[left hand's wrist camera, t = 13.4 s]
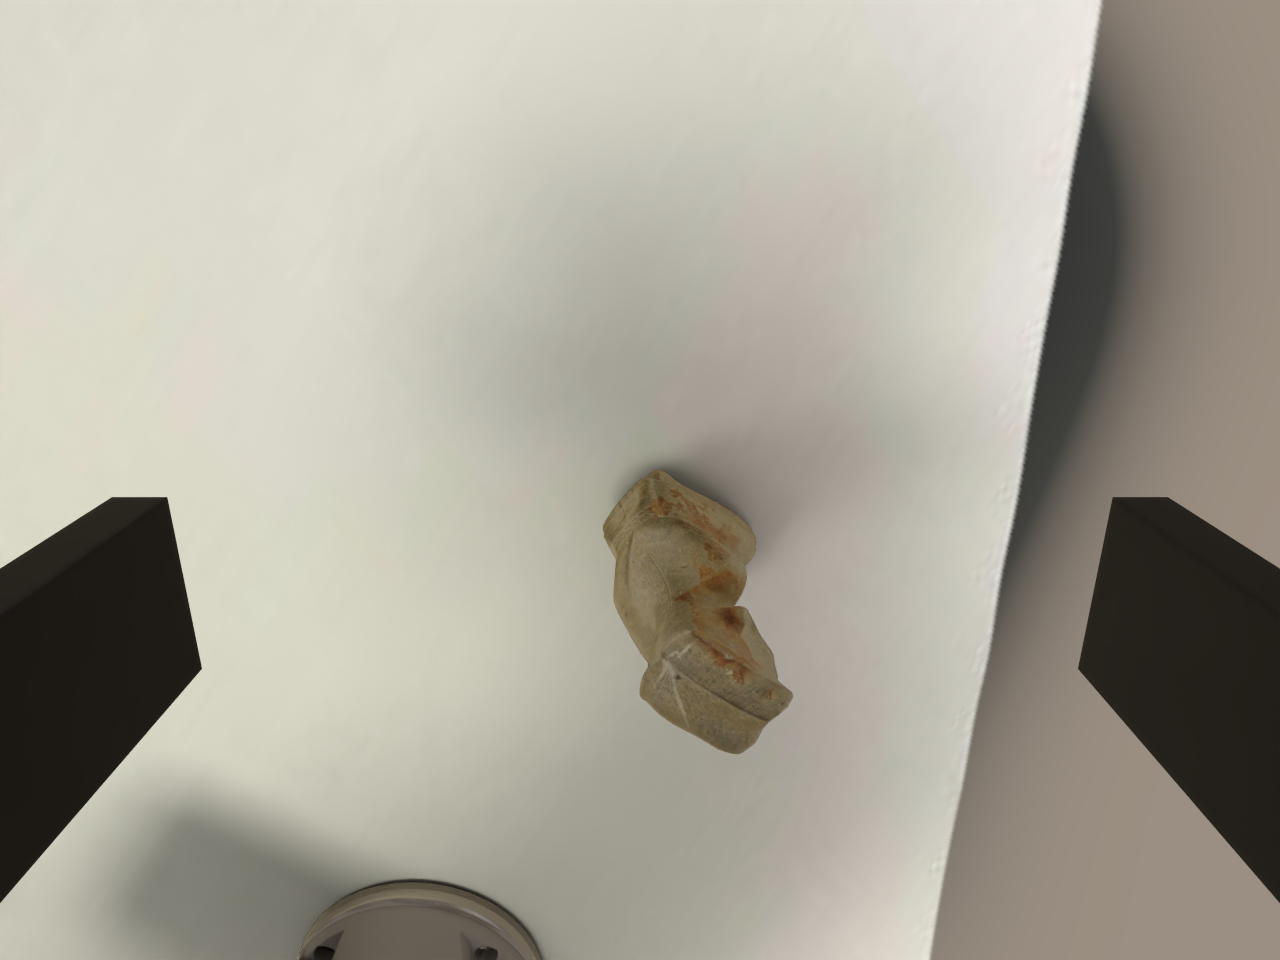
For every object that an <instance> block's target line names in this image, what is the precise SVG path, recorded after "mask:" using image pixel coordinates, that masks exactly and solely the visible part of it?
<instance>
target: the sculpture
mask: <svg viewBox="0 0 1280 960" xmlns="http://www.w3.org/2000/svg"><path fill="white" fill-rule="evenodd" d="M603 531H604V538H605V540H606V542H607V544H608V546H609V548H610V550H611V551H612V553H613V555H614V557H615V558H616V559H617V561H616V569H615V581H614V603H615V606H616V609H617V611H618V613H619V615H620V617H621V619H622V621H623V623H624V625H625V627H626V629H627V630H628V632H629V634H630V636H631V638H632V639H633V641H634V643H635V645H636V646H637V648H638V650H639V651H640V653H641V654H642V656H643V657H644V658H645V659H646V661H647V662H648V668H647V670H646V671H645V673H644V675H643V678H642V680H641V685H640V696H641V698H642V699H644V700H645V701H647V702H648V703H649V704H650V705H651V707H652V708H653V709H654V710H655V711H656V712H658V713H659V714H660V715H661V716H662V717H664V718H665V719H667V720H668V721H670V722H671V723H673V724H674V725H676V726H678V727H680V728H682V729H684V730H686V731H687V732H689V733H691V734H693V735H695V736H697V737H699V738H700V739H702V740H704V741H705V742H707V743H709V744H710V745H712V746H714V747H715V748H717V749H719V750H722V751H725V752H729V753H733V754H740V753H742V752H744V751H745V750H747V749H748V748H749V747H751V746H752V745H753V744H754V743H755V742H756V741H757V739H758V737H759V735H760V733H761V731H762V729H763V728H764V727H765V725H766V724H767V723H768V722H770V721H771V720H772V719H774V718H775V717H776V716H778V715H779V714H780V713H781V712H782V711H783V710H785V709H786V708H787V707H788V705H789V704H790V702H791V700H792V698H793V694H792V693H791V691H789V690H788V689H787V688H786V687H785V686H783V685H782V684H781V683H780V682H779V681H778V675H777V671H776V667H775V664H774V655H773V653H772V651H771V650H770V648H769V647H768V645H767V644H766V642H765V641H764V640H763V638H762V637H761V635H760V634H759V632H758V630H757V628H756V626H755V624H754V622H753V620H752V617H751V615H750V613H749V611H748V610H747V609H746V608H745V607H742V606H734V605H735V604H736V602H737V600H738V599H739V597H740V596H741V594H742V592H743V590H744V587H745V584H746V578H747V575H746V569H745V565H746V564H747V563H748V562H749V561H750V560H751V559H752V557H753V556H754V554H755V550H756V539H755V536H754V534H753V532H752V530H751V529H750V528H749V526H748V525H747V524H746V523H745V522H744V521H743V520H742V519H741V518H740V517H739V516H737V515H736V514H735V513H733V512H732V511H730V510H729V509H727V508H725V507H724V506H722V505H720V504H718V503H717V502H715V501H713V500H711V499H709V498H707V497H705V496H703V495H701V494H699V493H697V492H695V491H693V490H691V489H689V488H687V487H685V486H683V485H682V484H680V483H679V482H677V481H676V480H674V479H673V478H672V477H671V476H670V475H669V474H667V473H665V472H663V471H660V470H654V471H652V472H651V473H650V474H649V475H648V476H646V477H645V478H643V479H641V480H639V481H638V482H637V483H636V484H635V485H634V486H633V487H632V488H631V489H630V490H629V491H628V492H627V493H626V495H625V496H624V497H623V498H622V499H621V500H620V502H619V503H618V504H617V505H616V506H615V508H614V509H613V510H612V512H611V513H610V515H609V516H608V518H607V519H606V521H605V523H604V525H603Z"/></svg>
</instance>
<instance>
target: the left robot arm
mask: <svg viewBox="0 0 1280 960" xmlns="http://www.w3.org/2000/svg"><path fill="white" fill-rule="evenodd" d="M201 669H202V667H201V662H200V657H199V652H198V647H197V642H196V637H195V632H194V627H193V622H192V617H191V612H190V608H189V603H188V598H187V593H186V588H185V583H184V578H183V573H182V568H181V563H180V558H179V553H178V548H177V543H176V538H175V533H174V528H173V523H172V519H171V514H170V509H169V504H168V499H167V497H112V498H110V499H109V500H107V501H105V502H104V503H102V504H101V505H99V506H98V507H96V508H95V509H93V510H91V511H90V512H88V513H87V514H85V515H84V516H82V517H80V518H79V519H77V520H76V521H74V522H73V523H71V524H69V525H68V526H66V527H65V528H63V529H62V530H60V531H59V532H57V533H55V534H54V535H52V536H51V537H49V538H48V539H46V540H44V541H43V542H41V543H40V544H38V545H37V546H35V547H33V548H32V549H30V550H29V551H27V552H26V553H24V554H22V555H21V556H19V557H18V558H16V559H15V560H13V561H12V562H10V563H8V564H7V565H5V566H4V567H2V568H1V569H0V903H1V901H2V900H3V899H4V898H5V897H6V896H7V894H8V893H9V892H10V891H11V890H12V889H13V887H14V886H15V885H16V884H17V883H18V882H19V880H20V879H21V878H22V877H23V876H24V875H25V874H26V872H27V871H28V870H29V869H30V868H31V867H32V865H33V864H34V863H35V862H36V861H37V860H38V858H39V857H40V856H41V855H42V854H43V853H44V851H45V850H46V849H47V848H48V847H49V846H50V844H51V843H52V842H53V841H54V840H55V839H56V838H57V836H58V835H59V834H60V833H61V832H62V831H63V829H64V828H65V827H66V826H67V825H68V824H69V822H70V821H71V820H72V819H73V818H74V817H75V815H76V814H77V813H78V812H79V811H80V810H81V808H82V807H83V806H84V805H85V804H86V803H87V802H88V800H89V799H90V798H91V797H92V796H93V795H94V793H95V792H96V791H97V790H98V789H99V788H100V786H101V785H102V784H103V783H104V782H105V781H106V779H107V778H108V777H109V776H110V775H111V774H112V773H113V771H114V770H115V769H116V768H117V767H118V766H119V764H120V763H121V762H122V761H123V760H124V759H125V757H126V756H127V755H128V754H129V753H130V752H131V750H132V749H133V748H134V747H135V746H136V745H137V743H138V742H139V741H140V740H141V739H142V738H143V737H144V735H145V734H146V733H147V732H148V731H149V730H150V728H151V727H152V726H153V725H154V724H155V723H156V721H157V720H158V719H159V718H160V717H161V716H162V714H163V713H164V712H165V711H166V710H167V709H168V708H169V706H170V705H171V704H172V703H173V702H174V701H175V699H176V698H177V697H178V696H179V695H180V694H181V692H182V691H183V690H184V689H185V688H186V687H187V685H188V684H189V683H190V682H191V681H192V680H193V678H194V677H195V676H196V675H197V674H198V673H199V672H200V670H201ZM1078 669H1079V670H1080V672H1081V673H1082V674H1083V675H1084V676H1085V677H1086V678H1087V680H1088V681H1089V682H1090V683H1091V684H1092V685H1093V687H1094V688H1095V689H1096V690H1097V691H1098V692H1099V694H1100V695H1101V696H1102V697H1103V698H1104V699H1105V701H1106V702H1107V703H1108V704H1109V705H1110V706H1111V707H1112V709H1113V710H1114V711H1115V712H1116V713H1117V714H1118V716H1119V717H1120V718H1121V719H1122V720H1123V721H1124V723H1125V724H1126V725H1127V726H1128V727H1129V728H1130V730H1131V731H1132V732H1133V733H1134V734H1135V735H1136V737H1137V738H1138V739H1139V740H1140V741H1141V742H1142V743H1143V745H1144V746H1145V747H1146V748H1147V749H1148V750H1149V752H1150V753H1151V754H1152V755H1153V756H1154V757H1155V759H1156V760H1157V761H1158V762H1159V763H1160V764H1161V766H1162V767H1163V768H1164V769H1165V770H1166V771H1167V773H1168V774H1169V775H1170V776H1171V777H1172V778H1173V779H1174V781H1175V782H1176V783H1177V784H1178V785H1179V786H1180V788H1181V789H1182V790H1183V791H1184V792H1185V793H1186V795H1187V796H1188V797H1189V798H1190V799H1191V800H1192V802H1193V803H1194V804H1195V805H1196V806H1197V807H1198V809H1199V810H1200V811H1201V812H1202V813H1203V814H1204V815H1205V817H1206V818H1207V819H1208V820H1209V821H1210V822H1211V824H1212V825H1213V826H1214V827H1215V828H1216V829H1217V831H1218V832H1219V833H1220V834H1221V835H1222V836H1223V838H1224V839H1225V840H1226V841H1227V842H1228V843H1229V844H1230V846H1231V847H1232V848H1233V849H1234V850H1235V851H1236V853H1237V854H1238V855H1239V856H1240V857H1241V858H1242V860H1243V861H1244V862H1245V863H1246V864H1247V865H1248V867H1249V868H1250V869H1251V870H1252V871H1253V872H1254V874H1255V875H1256V876H1257V877H1258V878H1259V879H1260V880H1261V882H1262V883H1263V884H1264V885H1265V886H1266V887H1267V889H1268V890H1269V891H1270V892H1271V893H1272V894H1273V896H1274V897H1275V898H1276V899H1277V900H1278V901H1279V903H1280V569H1279V568H1278V567H1276V566H1275V565H1273V564H1272V563H1270V562H1268V561H1267V560H1265V559H1264V558H1262V557H1261V556H1259V555H1258V554H1256V553H1254V552H1253V551H1251V550H1250V549H1248V548H1247V547H1245V546H1243V545H1242V544H1240V543H1239V542H1237V541H1235V540H1234V539H1232V538H1231V537H1229V536H1228V535H1226V534H1225V533H1223V532H1221V531H1220V530H1218V529H1217V528H1215V527H1214V526H1212V525H1211V524H1209V523H1207V522H1206V521H1204V520H1203V519H1201V518H1200V517H1198V516H1196V515H1195V514H1193V513H1192V512H1190V511H1189V510H1187V509H1185V508H1184V507H1182V506H1181V505H1179V504H1178V503H1176V502H1175V501H1173V500H1171V499H1170V498H1168V497H1113V499H1112V504H1111V509H1110V514H1109V519H1108V524H1107V528H1106V533H1105V538H1104V543H1103V548H1102V553H1101V558H1100V563H1099V568H1098V573H1097V578H1096V583H1095V588H1094V593H1093V598H1092V603H1091V608H1090V612H1089V617H1088V622H1087V627H1086V632H1085V637H1084V642H1083V647H1082V652H1081V657H1080V662H1079V667H1078ZM296 960H541V958H540V955H539V952H538V950H537V948H536V946H535V944H534V942H533V941H532V939H531V938H530V936H529V935H528V933H527V932H526V931H525V930H524V929H523V928H522V926H521V925H520V924H519V923H518V922H517V921H516V920H514V919H513V918H512V917H511V916H510V915H509V914H507V913H506V912H505V911H503V910H502V909H500V908H499V907H497V906H496V905H494V904H493V903H491V902H489V901H487V900H485V899H483V898H481V897H479V896H477V895H474V894H472V893H469V892H466V891H463V890H460V889H457V888H453V887H449V886H444V885H439V884H431V883H419V882H404V883H392V884H385V885H380V886H375V887H371V888H368V889H364V890H362V891H359V892H357V893H354V894H352V895H350V896H348V897H346V898H344V899H342V900H340V901H339V902H337V903H336V904H334V905H333V906H331V907H330V908H329V909H328V910H326V911H325V912H324V913H323V914H322V915H321V916H320V917H319V918H318V919H317V921H316V922H315V923H314V924H313V926H312V927H311V929H310V930H309V932H308V934H307V936H306V938H305V940H304V943H303V945H302V947H301V950H300V952H299V954H298V957H297V959H296Z"/></svg>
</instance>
